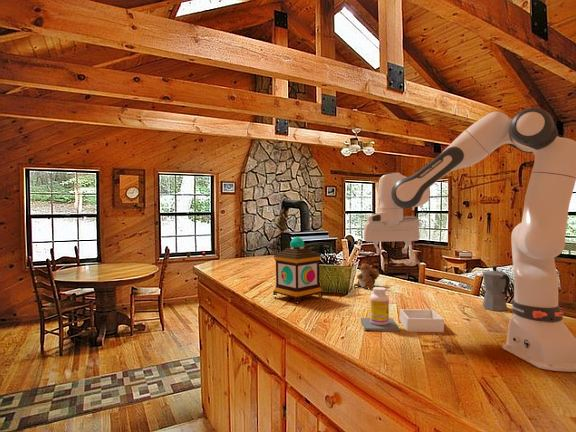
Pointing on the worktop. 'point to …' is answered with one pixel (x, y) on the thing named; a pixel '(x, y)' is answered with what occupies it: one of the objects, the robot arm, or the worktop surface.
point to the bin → (421, 320)
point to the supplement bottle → (379, 306)
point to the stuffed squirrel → (367, 276)
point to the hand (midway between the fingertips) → (391, 253)
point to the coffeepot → (495, 290)
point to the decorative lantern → (297, 271)
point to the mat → (388, 327)
